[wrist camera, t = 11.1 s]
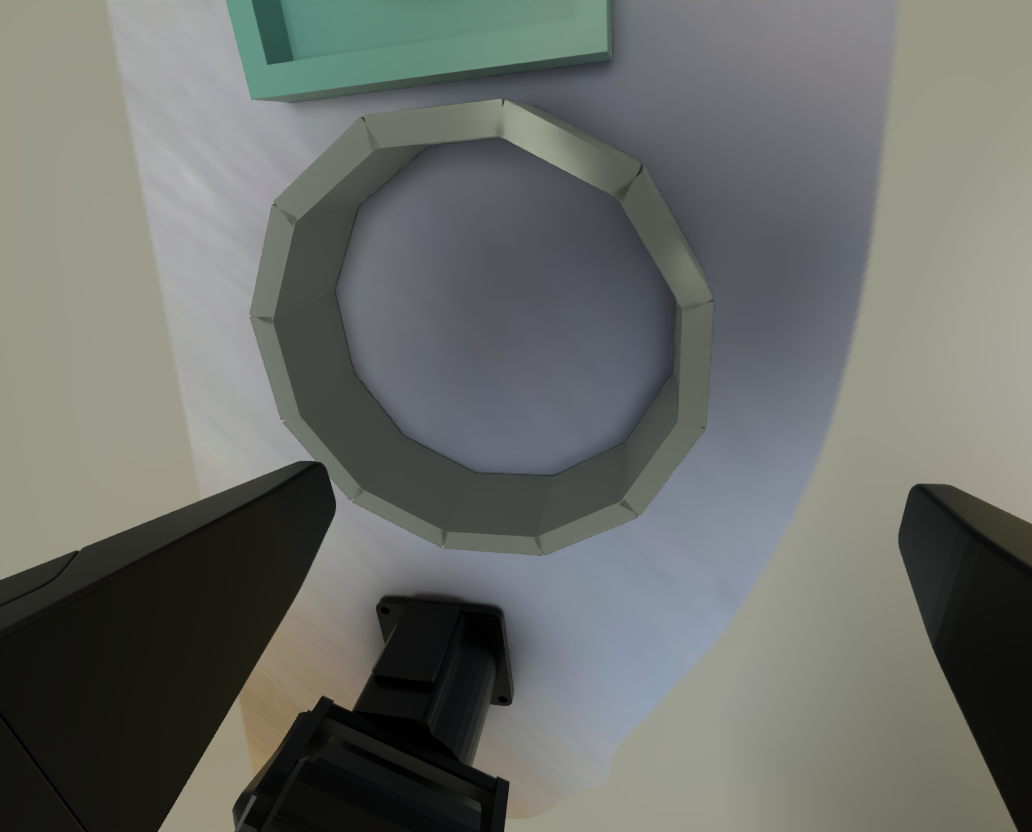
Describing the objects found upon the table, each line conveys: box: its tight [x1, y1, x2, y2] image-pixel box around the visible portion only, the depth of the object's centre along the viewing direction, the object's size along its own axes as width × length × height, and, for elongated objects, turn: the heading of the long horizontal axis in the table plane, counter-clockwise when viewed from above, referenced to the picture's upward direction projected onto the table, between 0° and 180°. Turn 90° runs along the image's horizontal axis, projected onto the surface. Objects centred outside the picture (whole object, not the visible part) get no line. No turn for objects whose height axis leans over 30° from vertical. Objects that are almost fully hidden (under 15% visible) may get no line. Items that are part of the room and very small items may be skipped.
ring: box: [250, 99, 714, 556], centre depth 19 cm, size 14×14×4 cm
